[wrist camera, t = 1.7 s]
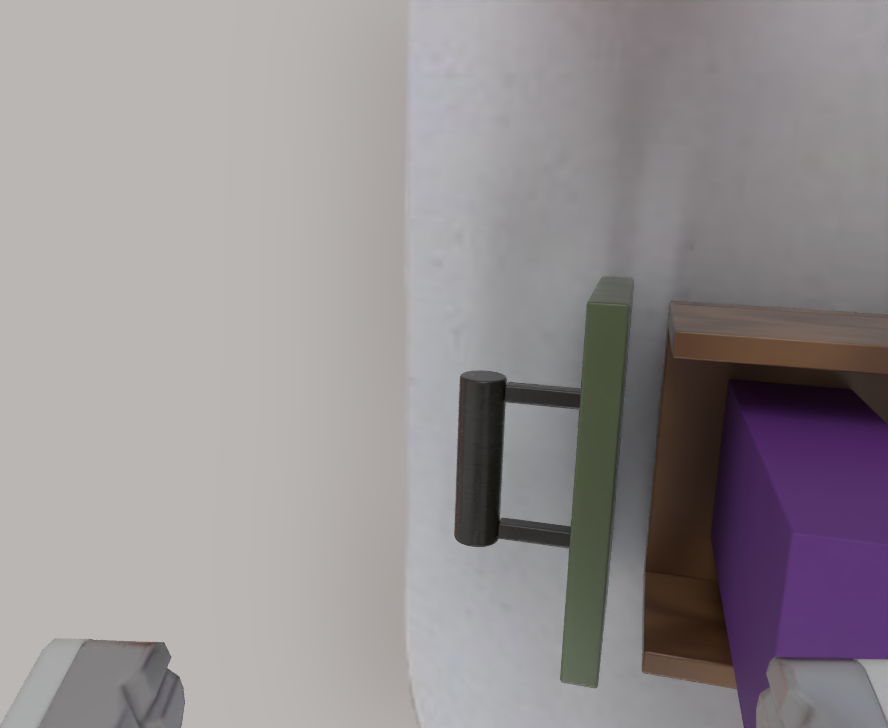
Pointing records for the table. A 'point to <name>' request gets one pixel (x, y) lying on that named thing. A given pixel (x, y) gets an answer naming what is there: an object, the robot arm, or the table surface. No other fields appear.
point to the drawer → (656, 461)
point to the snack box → (800, 528)
